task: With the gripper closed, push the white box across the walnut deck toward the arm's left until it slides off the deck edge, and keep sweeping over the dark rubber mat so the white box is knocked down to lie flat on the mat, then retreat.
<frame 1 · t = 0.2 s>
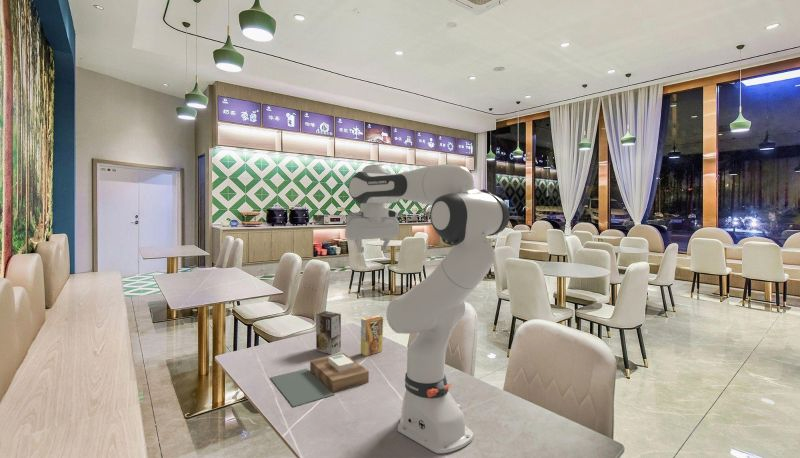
hand: (372, 251, 138), 47 cm above the table, fingers open, 8 cm apart
coffee box: (328, 350, 170), on the table
candy box: (371, 353, 168), on the table
deck: (338, 376, 145), on the table
mat: (300, 386, 137), on the table
white box: (341, 365, 145), point 4 cm above the table, touching deck
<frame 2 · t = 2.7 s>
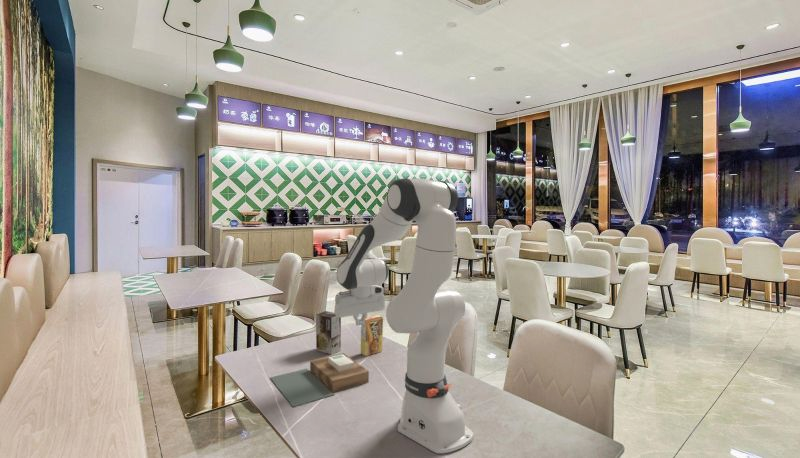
hand: (360, 324, 149), 18 cm above the table, fingers closed
nothing on the table moved.
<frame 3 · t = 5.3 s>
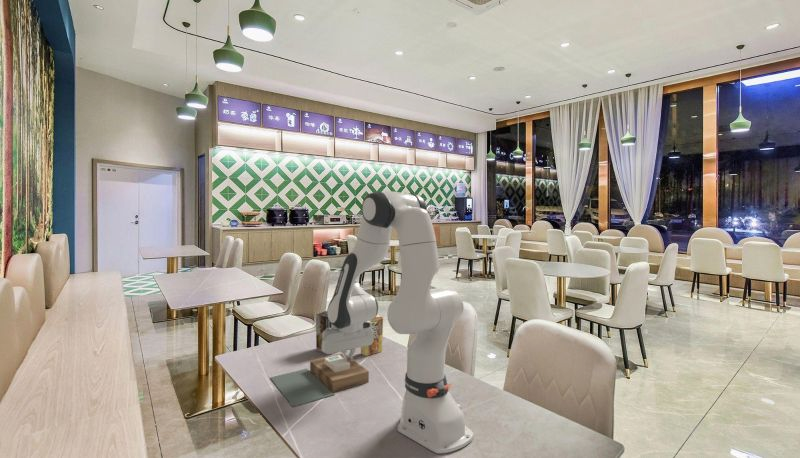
hand: (348, 360, 147), 5 cm above the table, fingers closed
white box: (337, 366, 145), point 4 cm above the table, touching deck
everything else where it was.
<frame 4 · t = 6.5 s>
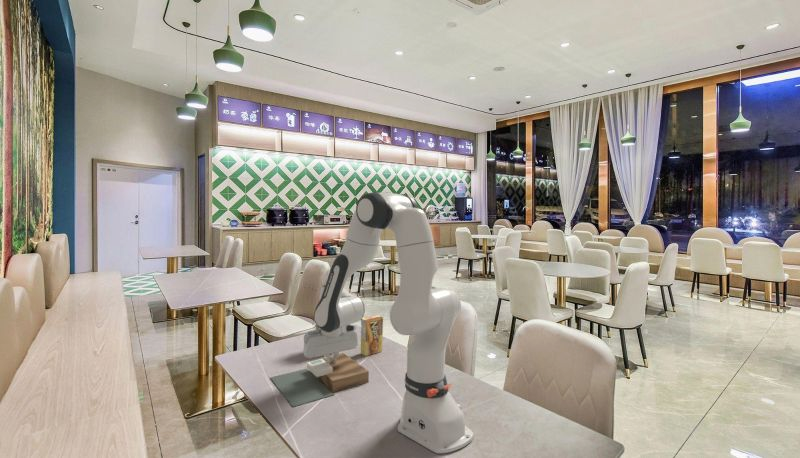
hand: (331, 364, 143), 5 cm above the table, fingers closed
white box: (319, 370, 141), point 4 cm above the table, touching gripper
everything else where it was.
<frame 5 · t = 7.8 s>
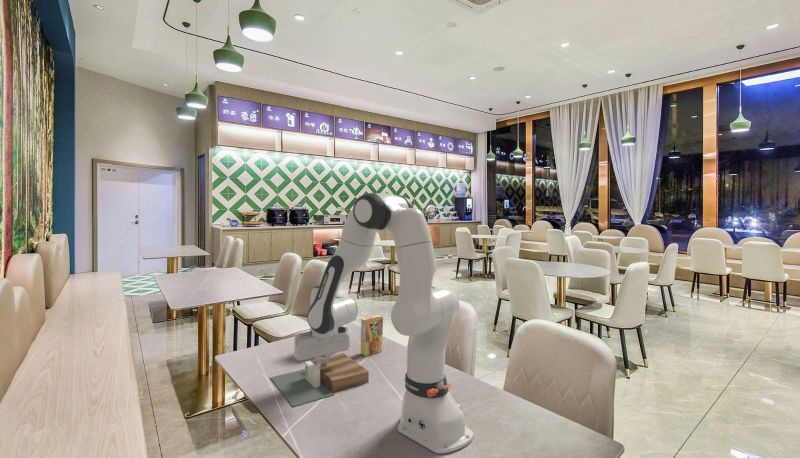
hand: (322, 366, 141), 5 cm above the table, fingers closed
white box: (315, 373, 140), point 3 cm above the table, tilted 90°, touching mat
everything else where it was.
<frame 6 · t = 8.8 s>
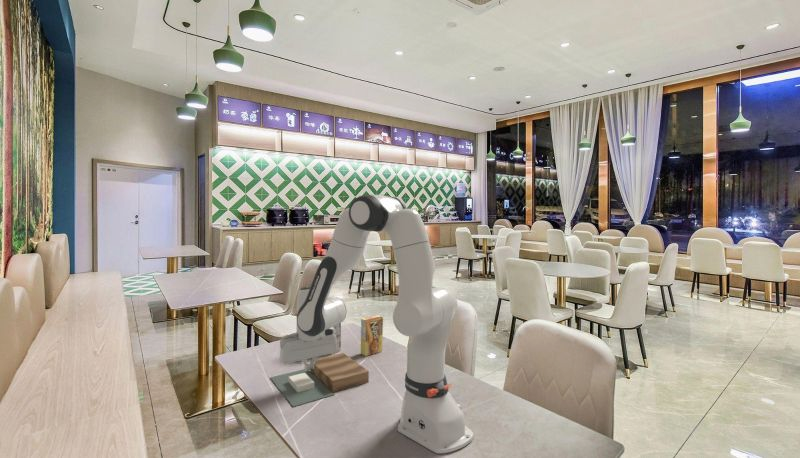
hand: (309, 369, 138), 5 cm above the table, fingers closed
white box: (301, 379, 137), point 2 cm above the table, tilted 180°, touching mat
everything else where it was.
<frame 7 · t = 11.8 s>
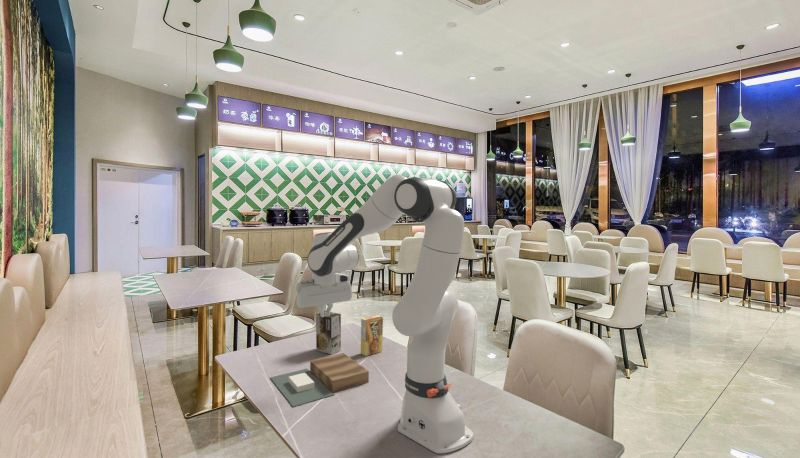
hand: (325, 316, 140), 24 cm above the table, fingers closed
nothing on the table moved.
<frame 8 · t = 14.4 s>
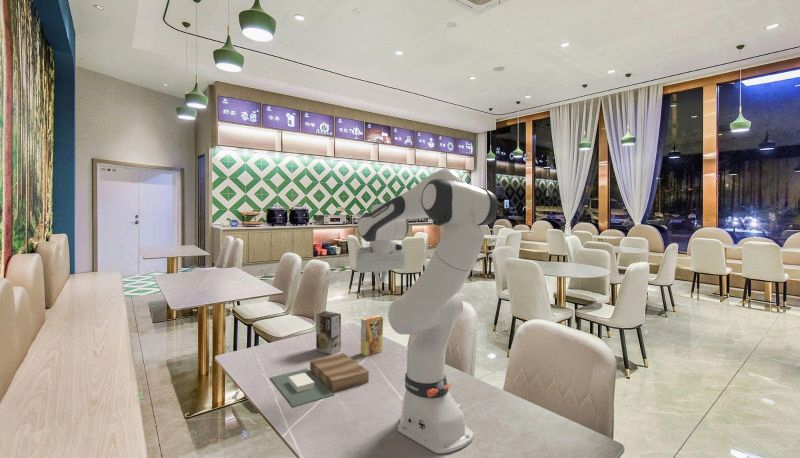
hand: (380, 282, 149), 34 cm above the table, fingers closed
nothing on the table moved.
at the end: white box point 2.3 cm above the table; white box inside the target area on the mat (0.4 cm from its centre), point 2.3 cm above the mat's base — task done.
